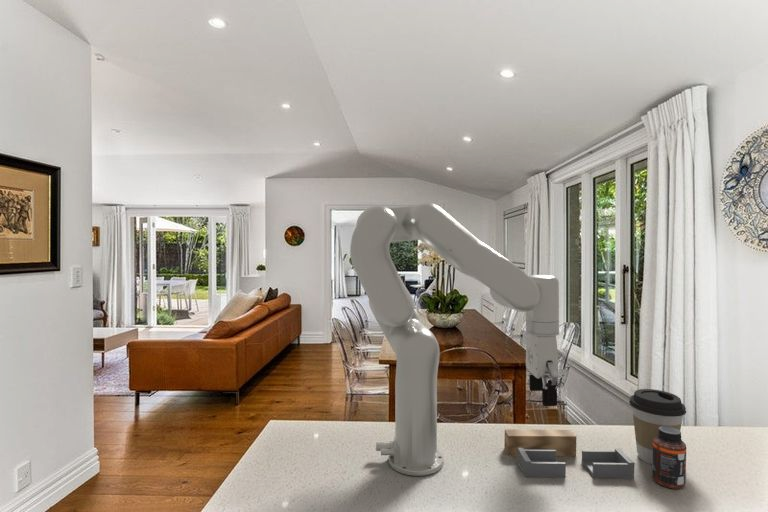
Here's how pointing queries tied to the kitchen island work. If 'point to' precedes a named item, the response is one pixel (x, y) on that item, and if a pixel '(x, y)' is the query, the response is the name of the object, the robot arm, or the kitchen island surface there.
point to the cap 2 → (608, 463)
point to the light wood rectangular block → (540, 441)
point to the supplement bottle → (669, 458)
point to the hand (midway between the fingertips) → (542, 397)
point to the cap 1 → (540, 463)
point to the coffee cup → (654, 417)
